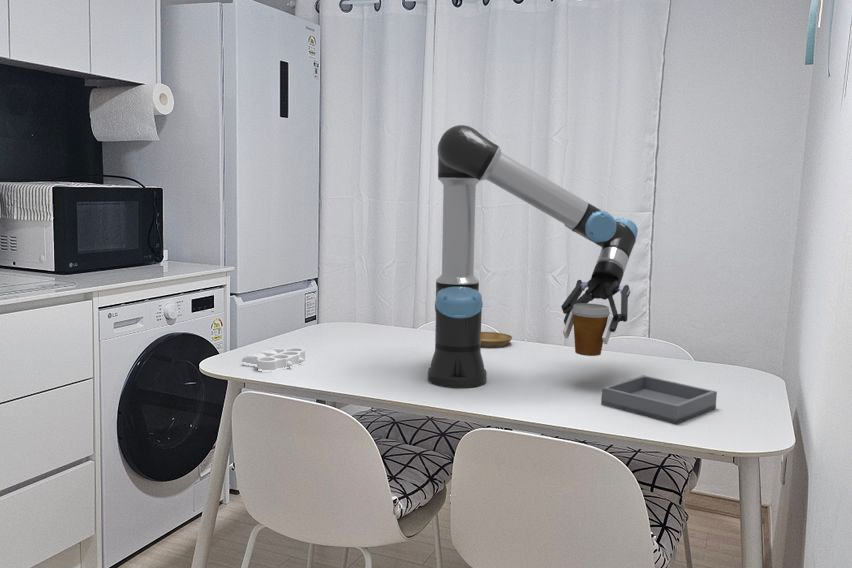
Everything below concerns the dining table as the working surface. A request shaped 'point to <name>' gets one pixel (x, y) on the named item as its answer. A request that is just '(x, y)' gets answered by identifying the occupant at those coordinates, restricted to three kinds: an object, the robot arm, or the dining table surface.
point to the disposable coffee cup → (589, 327)
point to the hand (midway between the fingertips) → (584, 337)
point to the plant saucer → (494, 339)
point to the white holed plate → (276, 358)
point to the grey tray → (659, 399)
